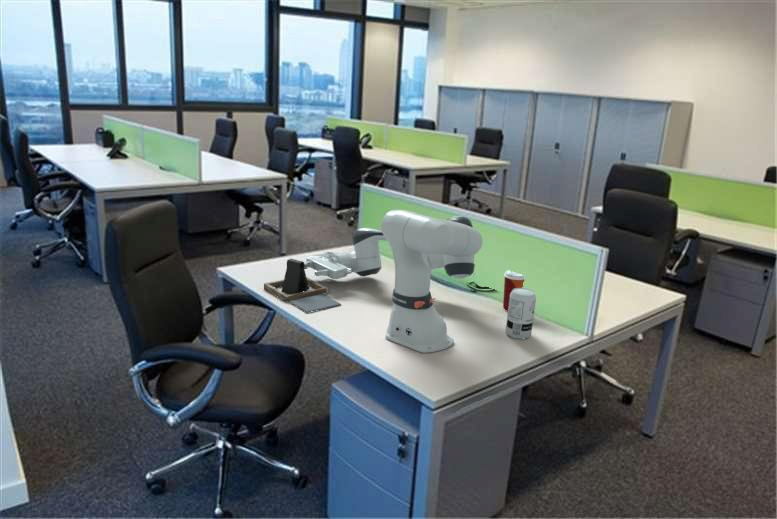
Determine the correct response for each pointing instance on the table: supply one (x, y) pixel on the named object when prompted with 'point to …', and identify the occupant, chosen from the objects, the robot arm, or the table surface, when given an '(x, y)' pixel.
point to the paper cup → (511, 285)
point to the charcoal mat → (314, 303)
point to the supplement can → (520, 313)
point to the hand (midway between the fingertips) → (308, 270)
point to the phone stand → (295, 277)
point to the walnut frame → (318, 290)
